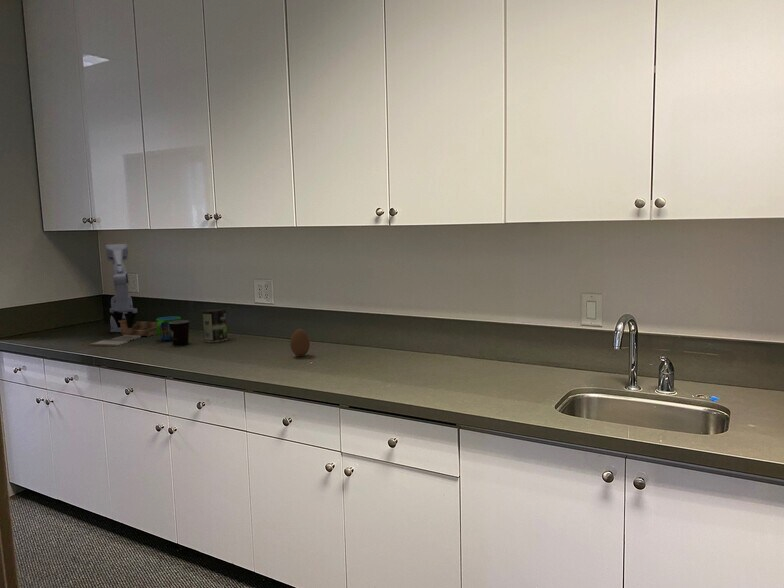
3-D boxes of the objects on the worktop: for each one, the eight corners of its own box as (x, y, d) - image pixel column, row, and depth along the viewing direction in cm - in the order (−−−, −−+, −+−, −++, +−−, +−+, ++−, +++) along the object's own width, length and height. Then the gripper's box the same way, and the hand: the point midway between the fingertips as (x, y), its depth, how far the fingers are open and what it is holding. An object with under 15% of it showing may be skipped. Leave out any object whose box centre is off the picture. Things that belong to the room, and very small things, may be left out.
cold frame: (121, 335, 297) (120, 325, 297) (137, 331, 308) (136, 321, 307) (147, 337, 292) (146, 326, 291) (163, 332, 302) (162, 322, 302)
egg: (314, 354, 245) (312, 328, 243) (303, 359, 238) (301, 331, 236) (298, 353, 248) (296, 326, 247) (287, 357, 241) (285, 330, 240)
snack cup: (173, 335, 294) (171, 314, 293) (190, 336, 290) (189, 315, 288) (148, 342, 280) (146, 320, 278) (166, 343, 276) (164, 321, 274)
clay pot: (118, 333, 287) (115, 320, 286) (127, 330, 292) (124, 317, 291) (127, 333, 285) (125, 320, 284) (136, 329, 290) (133, 317, 289)
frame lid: (88, 345, 276) (88, 343, 276) (102, 341, 285) (102, 339, 285) (115, 346, 272) (115, 344, 272) (128, 342, 281) (128, 340, 281)
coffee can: (230, 337, 285) (228, 307, 283) (223, 342, 275) (221, 311, 273) (208, 338, 285) (206, 308, 283) (201, 342, 275) (198, 311, 273)
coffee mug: (170, 343, 276) (169, 321, 275) (190, 341, 279) (189, 319, 277) (169, 348, 265) (167, 325, 264) (190, 346, 268) (188, 324, 266)
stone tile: (111, 340, 286) (111, 338, 286) (125, 336, 294) (125, 334, 294) (126, 341, 283) (126, 339, 283) (140, 337, 291) (140, 335, 291)
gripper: (103, 299, 285) (106, 328, 286) (128, 300, 280) (131, 329, 281) (115, 297, 291) (117, 325, 293) (139, 298, 286) (142, 326, 288)
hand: (125, 327), depth 288 cm, fingers closed on clay pot, 5 cm apart
